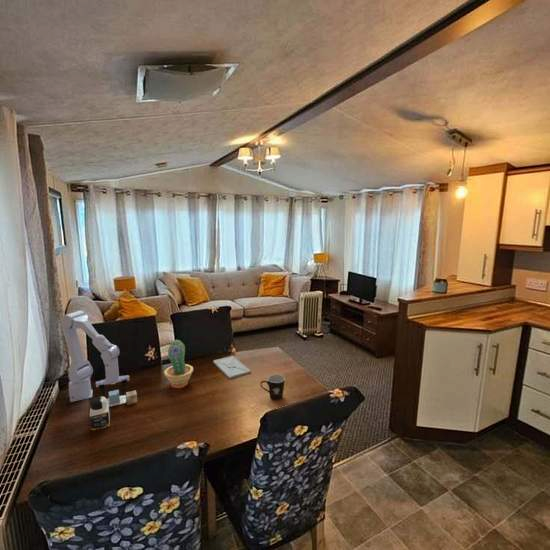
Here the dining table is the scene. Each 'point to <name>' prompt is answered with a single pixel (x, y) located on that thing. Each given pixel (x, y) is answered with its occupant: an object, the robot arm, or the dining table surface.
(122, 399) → the letter
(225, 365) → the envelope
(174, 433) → the dining table surface
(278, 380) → the coffee mug
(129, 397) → the oak block
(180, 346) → the potted cactus
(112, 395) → the slate cube
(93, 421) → the medicine bottle
